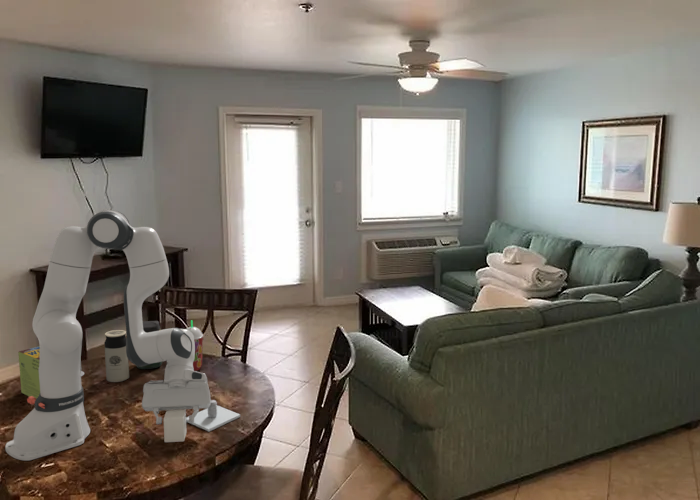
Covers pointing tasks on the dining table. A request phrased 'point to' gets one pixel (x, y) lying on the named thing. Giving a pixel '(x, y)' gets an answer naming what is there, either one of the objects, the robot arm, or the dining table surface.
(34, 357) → the protein box
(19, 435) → the robot arm
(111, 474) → the dining table surface
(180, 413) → the cream rectangular block
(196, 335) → the smoothie
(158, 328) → the coffee jar
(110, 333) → the travel mug
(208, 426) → the stud board
